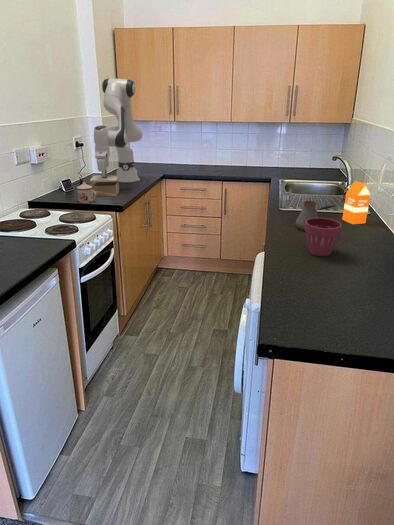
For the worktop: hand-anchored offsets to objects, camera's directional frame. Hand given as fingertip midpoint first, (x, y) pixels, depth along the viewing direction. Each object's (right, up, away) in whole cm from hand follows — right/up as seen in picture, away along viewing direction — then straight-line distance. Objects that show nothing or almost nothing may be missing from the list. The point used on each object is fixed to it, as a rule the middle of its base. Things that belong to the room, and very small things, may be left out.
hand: (104, 175), depth 249 cm
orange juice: (+140, -34, -47) cm, 151 cm away
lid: (0, -2, +1) cm, 2 cm away
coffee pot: (+115, -41, -63) cm, 137 cm away
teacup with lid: (-7, -19, -13) cm, 24 cm away
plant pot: (+109, -51, -88) cm, 149 cm away
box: (0, -11, +4) cm, 12 cm away
